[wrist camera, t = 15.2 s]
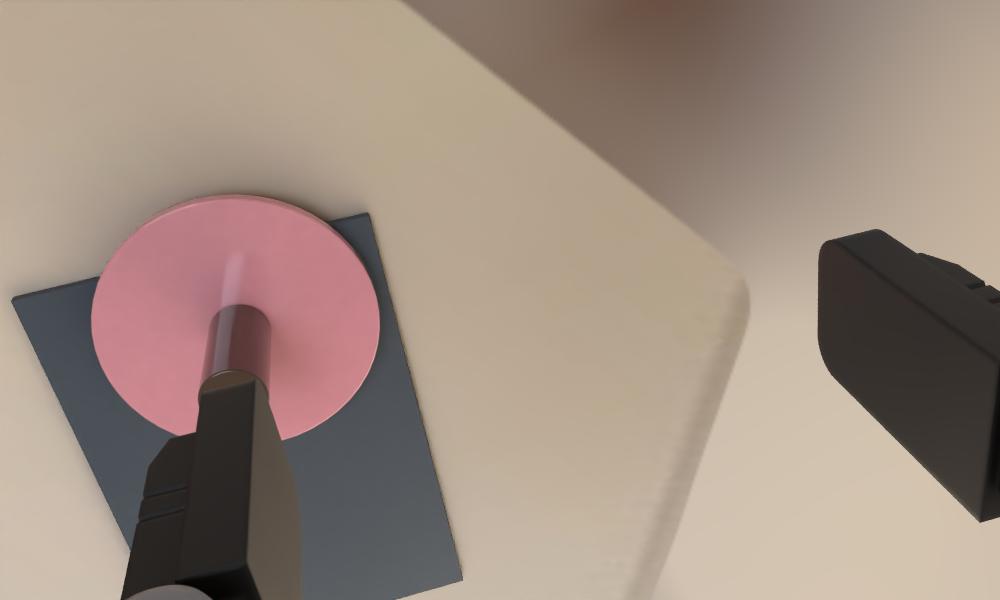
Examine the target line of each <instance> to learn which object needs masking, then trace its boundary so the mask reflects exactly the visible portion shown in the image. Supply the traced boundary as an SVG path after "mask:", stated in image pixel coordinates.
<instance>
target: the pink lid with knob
mask: <svg viewBox="0 0 1000 600" xmlns="http://www.w3.org/2000/svg"><path fill="white" fill-rule="evenodd" d="M91 333H92V338H93V343H94V348H95V351H96V354H97V357H98V360H99V363H100V365H101V367H102V369H103V371H104V373H105V375H106V377H107V378H108V380H109V382H110V383H111V384H112V386H113V387H114V388H115V390H116V391H117V393H118V394H119V395H120V396H121V397H122V398H123V399H124V400H125V401H126V402H127V403H128V404H129V406H130V407H132V408H133V409H134V410H135V411H137V412H138V413H139V414H140V415H142V416H143V417H144V418H146V419H147V420H149V421H150V422H152V423H154V424H155V425H157V426H158V427H160V428H162V429H164V430H167V431H169V432H171V433H173V434H175V435H178V436H181V435H185V434H189V433H193V432H196V427H197V420H198V413H199V406H200V399H201V395H202V393H203V392H205V391H209V390H213V389H218V388H222V387H226V386H230V385H234V384H238V383H242V382H246V381H250V380H254V379H259V380H260V382H261V384H262V386H263V388H264V390H265V393H266V396H267V398H268V401H269V404H270V407H271V410H272V413H273V416H274V419H275V422H276V425H277V428H278V431H279V434H280V437H281V440H285V439H288V438H291V437H294V436H297V435H299V434H301V433H304V432H306V431H308V430H310V429H312V428H314V427H316V426H317V425H319V424H321V423H322V422H324V421H326V420H327V419H328V418H330V417H331V416H332V415H334V414H335V413H336V412H337V411H339V410H340V409H341V408H342V407H343V406H344V405H345V404H346V403H347V402H348V401H349V400H350V399H351V398H352V396H353V395H354V394H355V393H356V391H357V390H358V389H359V387H360V386H361V384H362V383H363V381H364V379H365V378H366V376H367V374H368V373H369V370H370V368H371V365H372V363H373V361H374V358H375V354H376V350H377V347H378V342H379V333H380V314H379V307H378V302H377V297H376V292H375V289H374V286H373V283H372V280H371V277H370V275H369V273H368V271H367V269H366V267H365V265H364V263H363V261H362V260H361V259H360V257H359V256H358V254H357V253H356V252H355V250H354V249H353V247H352V246H351V245H350V244H349V243H348V242H347V241H346V240H345V239H344V238H343V237H342V236H341V235H340V234H339V233H338V232H337V231H336V230H334V229H333V228H332V227H331V226H329V225H328V224H327V223H325V222H324V221H322V220H321V219H319V218H317V217H316V216H314V215H313V214H311V213H309V212H307V211H305V210H302V209H300V208H298V207H296V206H294V205H291V204H288V203H285V202H282V201H278V200H275V199H270V198H265V197H260V196H253V195H240V194H230V195H214V196H208V197H202V198H197V199H193V200H190V201H187V202H183V203H180V204H177V205H175V206H172V207H170V208H168V209H166V210H163V211H161V212H159V213H158V214H156V215H154V216H153V217H151V218H149V219H148V220H146V221H145V222H143V223H142V224H141V225H140V226H138V227H137V228H136V229H135V230H133V231H132V232H131V233H130V234H129V235H128V236H127V237H126V238H125V239H124V240H123V241H122V242H121V244H120V245H119V246H118V247H117V248H116V250H115V251H114V253H113V254H112V256H111V257H110V259H109V260H108V262H107V264H106V266H105V268H104V270H103V272H102V274H101V276H100V279H99V281H98V283H97V287H96V290H95V294H94V297H93V303H92V311H91Z"/></svg>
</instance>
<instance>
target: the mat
mask: <svg viewBox="0 0 1000 600" xmlns="http://www.w3.org/2000/svg"><path fill="white" fill-rule="evenodd" d="M326 223H327V224H328V225H329V226H331V227H332V228H333V229H334V230H336V231H337V232H338V233H339V234H340V235H341V236H342V237H343V238H344V239H345V240H346V241H347V242H348V243H349V244H350V245H351V246H352V247H353V249H354V250H355V252H356V253H357V254H358V256H359V257H360V259H361V260H362V261H363V263H364V265H365V267H366V269H367V271H368V273H369V275H370V277H371V280H372V283H373V286H374V289H375V292H376V297H377V302H378V307H379V314H380V333H379V342H378V347H377V350H376V354H375V358H374V361H373V363H372V365H371V368H370V370H369V373H368V374H367V376H366V378H365V379H364V381H363V383H362V384H361V386H360V387H359V389H358V390H357V391H356V393H355V394H354V395H353V396H352V398H351V399H350V400H349V401H348V402H347V403H346V404H345V405H344V406H343V407H342V408H341V409H340V410H339V411H337V412H336V413H335V414H334V415H332V416H331V417H330V418H328V419H327V420H326V421H324V422H322V423H321V424H319V425H317V426H316V427H314V428H312V429H310V430H308V431H306V432H304V433H301V434H299V435H297V436H294V437H291V438H288V439H285V440H282V443H283V446H284V449H285V452H286V455H287V457H288V460H289V463H290V466H291V469H292V473H293V476H294V480H295V484H296V489H297V493H298V499H299V506H300V517H301V553H302V591H303V600H396V599H400V598H403V597H407V596H410V595H414V594H417V593H421V592H424V591H428V590H431V589H435V588H438V587H442V586H445V585H449V584H452V583H456V582H459V581H463V577H462V573H461V569H460V565H459V561H458V558H457V554H456V550H455V546H454V542H453V538H452V534H451V531H450V527H449V523H448V519H447V515H446V511H445V507H444V503H443V500H442V496H441V492H440V488H439V484H438V480H437V476H436V473H435V469H434V465H433V461H432V457H431V453H430V449H429V446H428V442H427V438H426V434H425V430H424V426H423V422H422V418H421V415H420V411H419V407H418V403H417V399H416V395H415V391H414V388H413V384H412V380H411V376H410V372H409V368H408V364H407V361H406V357H405V353H404V349H403V345H402V341H401V337H400V334H399V330H398V326H397V322H396V318H395V314H394V310H393V306H392V303H391V299H390V295H389V291H388V287H387V283H386V279H385V276H384V272H383V268H382V264H381V260H380V256H379V252H378V249H377V245H376V241H375V237H374V233H373V229H372V225H371V221H370V218H369V214H368V213H363V214H359V215H355V216H351V217H347V218H342V219H338V220H334V221H330V222H326ZM99 279H100V277H95V278H91V279H87V280H83V281H79V282H75V283H70V284H66V285H62V286H58V287H54V288H49V289H45V290H41V291H37V292H33V293H29V294H24V295H20V296H16V297H13V299H12V301H11V302H12V304H13V306H14V308H15V310H16V313H17V315H18V317H19V319H20V321H21V323H22V325H23V327H24V329H25V331H26V333H27V335H28V338H29V340H30V342H31V344H32V346H33V348H34V350H35V352H36V354H37V356H38V358H39V360H40V363H41V365H42V367H43V369H44V371H45V373H46V375H47V377H48V379H49V381H50V383H51V386H52V388H53V390H54V392H55V394H56V396H57V398H58V400H59V402H60V404H61V406H62V408H63V411H64V413H65V415H66V417H67V419H68V421H69V423H70V425H71V427H72V429H73V431H74V433H75V436H76V438H77V440H78V442H79V444H80V446H81V448H82V450H83V452H84V454H85V456H86V459H87V461H88V463H89V465H90V467H91V469H92V471H93V473H94V475H95V477H96V479H97V481H98V484H99V486H100V488H101V490H102V492H103V494H104V496H105V498H106V500H107V502H108V504H109V506H110V509H111V511H112V513H113V515H114V517H115V519H116V521H117V523H118V525H119V527H120V529H121V532H122V534H123V536H124V538H125V540H126V542H127V544H128V546H129V548H130V550H131V548H132V543H133V539H134V534H135V529H136V524H137V523H139V519H138V515H139V510H140V505H141V500H143V499H144V497H143V491H144V486H145V481H146V477H147V472H148V467H149V465H150V464H151V463H152V461H153V460H154V459H155V457H156V456H157V455H158V453H159V452H160V451H161V449H162V448H163V447H164V445H165V444H166V443H167V441H168V440H169V439H170V438H173V437H177V436H178V435H175V434H173V433H171V432H169V431H167V430H164V429H162V428H160V427H158V426H157V425H155V424H154V423H152V422H150V421H149V420H147V419H146V418H144V417H143V416H142V415H140V414H139V413H138V412H137V411H135V410H134V409H133V408H132V407H130V406H129V404H128V403H127V402H126V401H125V400H124V399H123V398H122V397H121V396H120V395H119V394H118V393H117V391H116V390H115V388H114V387H113V386H112V384H111V383H110V382H109V380H108V378H107V377H106V375H105V373H104V371H103V369H102V367H101V365H100V363H99V360H98V357H97V354H96V351H95V348H94V343H93V338H92V333H91V311H92V303H93V297H94V294H95V290H96V287H97V283H98V281H99Z"/></svg>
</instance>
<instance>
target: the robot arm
mask: <svg viewBox="0 0 1000 600" xmlns="http://www.w3.org/2000/svg"><path fill="white" fill-rule="evenodd" d="M818 343H819V348H820V352H821V355H822V358H823V360H824V363H825V365H826V367H827V369H828V371H829V372H830V373H831V375H832V376H833V377H834V378H835V379H836V380H837V381H838V382H839V383H840V384H841V385H842V386H843V387H844V388H845V389H846V390H847V391H848V392H849V393H850V394H851V395H852V396H853V397H854V398H855V399H856V400H857V401H858V402H859V403H860V404H861V405H862V406H863V407H864V408H865V409H866V410H867V411H868V412H869V413H870V414H871V415H872V416H873V417H874V418H875V419H876V420H877V421H878V422H879V423H880V424H881V425H882V426H883V427H884V428H885V429H886V430H887V431H888V432H889V433H890V434H891V435H892V436H893V437H894V438H895V439H896V440H897V441H898V442H899V443H900V444H901V445H902V446H903V447H904V448H905V449H906V450H907V451H908V452H909V453H910V454H911V455H912V456H913V457H914V458H915V459H916V460H917V461H918V462H919V463H920V464H921V465H922V466H923V467H924V468H925V469H926V470H927V471H928V472H930V474H932V476H933V477H934V478H935V479H936V480H937V481H938V482H939V483H940V484H941V485H942V486H943V487H944V488H946V490H947V491H949V492H950V493H951V495H953V497H955V499H957V500H958V501H959V502H960V503H961V504H962V505H963V506H964V507H965V508H966V509H967V510H968V511H969V512H970V513H971V514H972V515H973V516H974V517H975V518H976V519H977V520H978V521H979V522H980V523H981V522H984V521H988V520H991V519H995V518H998V517H1000V291H998V290H997V289H995V288H994V287H992V286H990V285H988V286H986V285H985V283H984V281H983V280H981V279H980V278H978V277H976V276H975V275H973V274H972V273H970V272H968V271H967V270H966V269H964V268H962V267H961V266H959V265H958V264H954V263H951V262H948V261H945V260H942V259H939V258H936V257H933V256H930V255H926V254H923V253H918V254H917V253H915V252H914V251H912V250H911V249H909V248H908V247H906V246H905V245H903V244H902V243H900V242H899V241H897V240H896V239H894V238H893V237H891V236H890V235H888V234H887V233H885V232H884V231H882V230H878V229H874V230H869V231H865V232H861V233H857V234H853V235H849V236H845V237H841V238H837V239H833V240H829V241H826V242H825V243H824V244H823V245H822V247H821V249H820V253H819V262H818ZM143 497H144V499H143V500H141V505H140V510H139V515H138V519H139V523H137V524H136V529H135V534H134V539H133V543H132V548H131V553H130V558H129V562H128V567H127V572H126V577H125V581H124V586H123V591H122V596H121V600H303V591H302V553H301V517H300V506H299V499H298V493H297V489H296V484H295V480H294V476H293V473H292V469H291V466H290V463H289V460H288V457H287V455H286V452H285V449H284V446H283V443H282V440H281V437H280V434H279V431H278V428H277V425H276V422H275V419H274V416H273V413H272V410H271V407H270V404H269V401H268V398H267V396H266V393H265V390H264V388H263V386H262V384H261V382H260V380H259V379H254V380H250V381H246V382H242V383H238V384H234V385H230V386H226V387H222V388H218V389H213V390H209V391H205V392H203V393H202V395H201V399H200V406H199V413H198V420H197V427H196V432H193V433H189V434H185V435H181V436H177V437H173V438H170V439H169V440H168V441H167V443H166V444H165V445H164V447H163V448H162V449H161V451H160V452H159V453H158V455H157V456H156V457H155V459H154V460H153V461H152V463H151V464H150V465H149V467H148V472H147V477H146V481H145V486H144V491H143Z"/></svg>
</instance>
